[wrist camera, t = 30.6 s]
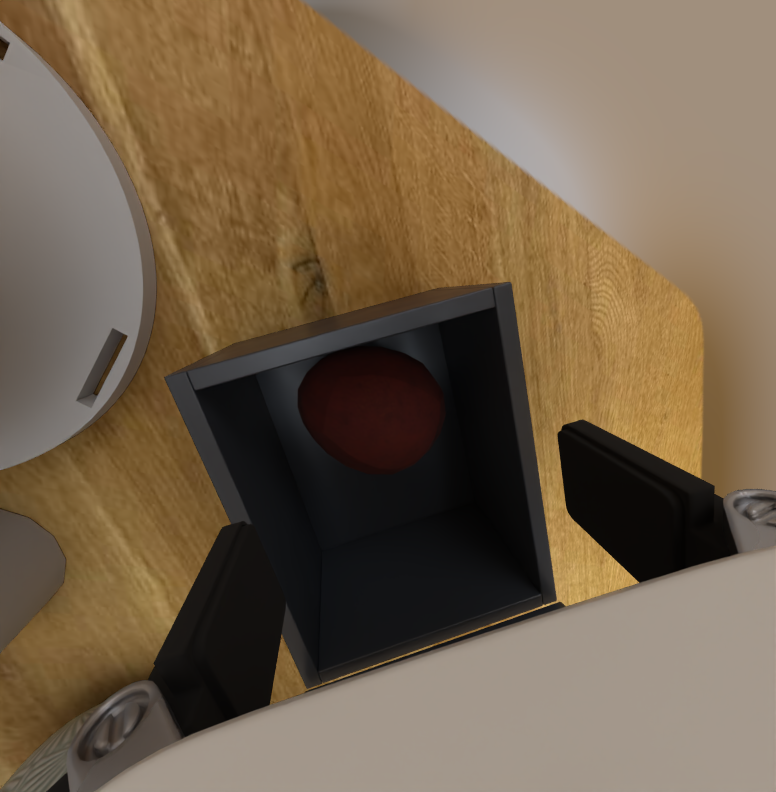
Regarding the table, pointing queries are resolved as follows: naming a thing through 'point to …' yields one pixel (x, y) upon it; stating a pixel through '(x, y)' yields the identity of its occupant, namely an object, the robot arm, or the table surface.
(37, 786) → the planter
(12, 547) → the cup
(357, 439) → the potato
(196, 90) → the table surface
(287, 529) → the open box
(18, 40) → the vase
